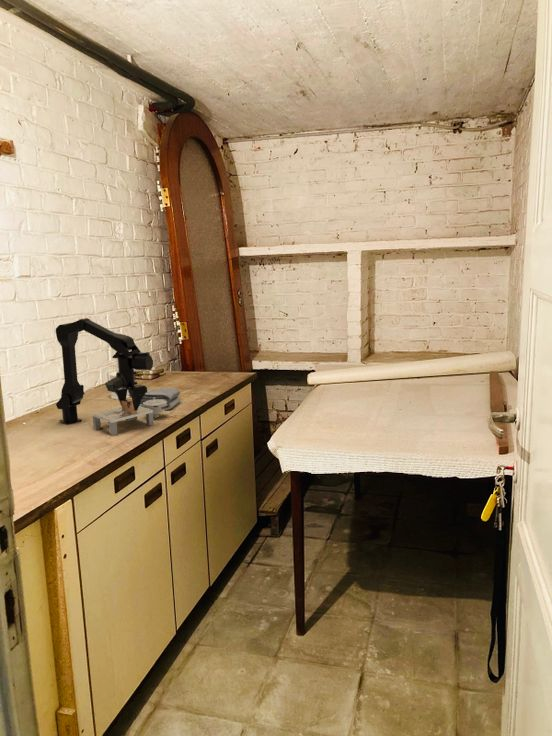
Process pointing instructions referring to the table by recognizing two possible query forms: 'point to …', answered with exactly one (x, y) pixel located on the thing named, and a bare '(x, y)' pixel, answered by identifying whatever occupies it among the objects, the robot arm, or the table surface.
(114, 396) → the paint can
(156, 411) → the showerhead
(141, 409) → the keyhole stand
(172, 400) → the towel
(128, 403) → the peg
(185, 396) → the table surface
